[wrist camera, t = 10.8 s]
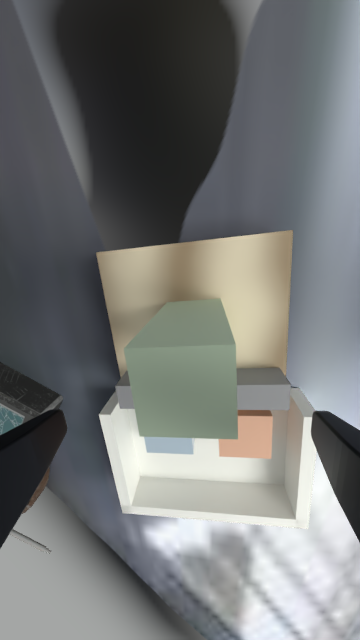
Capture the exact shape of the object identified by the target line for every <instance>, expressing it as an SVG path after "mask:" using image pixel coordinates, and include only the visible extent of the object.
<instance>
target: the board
mask: <svg viewBox="0 0 360 640" xmlns="http://www.w3.org/2000/svg"><path fill="white" fill-rule="evenodd" d="M292 240H293V230H289V231H281V232H272V233H263V234H254V235H246V236H237V237H228V238H219V239H210V240H202V241H193V242H184V243H175V244H167V245H158V246H149V247H140V248H132V249H123V250H114V251H105V252H97V253H96V255H97V260H98V265H99V270H100V275H101V280H102V285H103V290H104V295H105V301H106V306H107V311H108V316H109V321H110V326H111V331H112V336H113V341H114V346H115V351H116V356H117V361H118V366H119V371H120V377H122V376H123V375H124V373H125V372H126V371H128V370H127V365H126V359H125V354H124V348H125V347H126V346H127V345H128V343H129V342H130V341H131V340H132V339H133V338H134V337H135V336H136V335H137V334H138V333H139V332H140V331H141V330H142V329H143V327H144V326H145V325H146V324H147V323H148V322H149V321H150V320H151V319H152V318H153V317H154V316H155V315H156V314H157V313H158V311H159V310H160V309H161V308H162V307H163V306H164V305H165V304H166V303H167V302H176V301H191V300H205V299H219V298H221V301H222V304H223V307H224V310H225V313H226V316H227V319H228V322H229V325H230V328H231V331H232V334H233V337H234V340H235V343H236V368H280V369H281V370H282V372H283V373H284V375H285V376H286V362H287V342H288V322H289V301H290V281H291V261H292Z"/></svg>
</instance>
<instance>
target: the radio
mask: <svg viewBox="0 0 360 640" xmlns="http://www.w3.org/2000/svg"><path fill="white" fill-rule="evenodd" d="M62 400H63V397H62V396H61V395H59V394H58V393H56V392H54V391H52V390H50V389H48V388H47V387H45V386H43V385H41V384H39V383H37V382H36V381H34V380H32V379H30V378H28V377H26V376H25V375H23V374H21V373H19V372H17V371H15V370H14V369H12V368H10V367H8V366H6V365H4V364H3V363H1V362H0V435H2V434H4V433H6V432H7V431H9V430H11V429H13V428H15V427H17V426H19V425H21V424H23V423H25V422H27V421H29V420H31V419H33V418H35V417H36V416H38V415H40V414H42V413H44V412H46V411H48V410H51V409H59V407H60V405H61V402H62ZM49 471H50V470H49V468H48V470H47V472H46V474H45V476H44V477H43V479H42V481H41V482H40V484H39V486H38V488H37V489H36V491H35V492H34V494H33V496H32V497H31V499H30V501H29V502H28V504H27V506H26V507H25V509H24V510H23V512H22V514H23V513H25V512H26V511H27V510H28V509H29V508H30V507H32V505H33V504H34V502H35V501H36V500H37V498H38V497H39V496H40V494H41V493H42V491H43V490H44V488H45V486H46V484H47V482H48V478H49ZM9 534H10V535H12V536H14V537H15V538H17V539H19V540H21V541H23V542H25V543H27V544H29V545H31V546H33V547H35V548H36V549H39V550H40V551H42V552H46V553H47V552H48V553H49V554H50V553H51V551H50V550H49V549H48V548H46V546H44V545H42V544H40V543H38V542H36V541H34V540H32V539H31V538H29V537H27V536H25V535H23V534H21V533H19V532H17V531H15V530H13V529H12V530H11V532H10V533H9Z"/></svg>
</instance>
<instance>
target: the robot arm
mask: <svg viewBox="0 0 360 640" xmlns="http://www.w3.org/2000/svg"><path fill="white" fill-rule="evenodd" d="M66 432H67V424H66V420H65V417H64V414H63V411H62V410H60V409H51V410H48V411H46V412H44V413H42V414H40V415H38V416H36V417H35V418H33V419H31V420H29V421H27V422H25V423H23V424H21V425H19V426H17V427H15V428H13V429H11V430H9V431H7V432H6V433H4V434H2V435H0V548H1V547H2V545H3V543H4V542H5V540H6V538H7V537H8V535H9V533H10V532H11V530H12V529H13V527H14V525H15V524H16V522H17V520H18V519H19V517H20V515H21V514H22V512H23V510H24V509H25V507H26V506H27V504H28V502H29V501H30V499H31V497H32V496H33V494H34V492H35V491H36V489H37V488H38V486H39V484H40V482H41V481H42V479H43V477H44V476H45V474H46V472H47V470H48V468H49V466H50V464H51V462H52V460H53V458H54V456H55V454H56V452H57V450H58V448H59V446H60V445H61V443H62V441H63V439H64V437H65V435H66ZM311 437H312V440H313V442H314V445H315V447H316V450H317V452H318V455H319V457H320V459H321V462H322V464H323V467H324V469H325V472H326V474H327V476H328V479H329V481H330V484H331V486H332V488H333V491H334V493H335V495H336V497H337V499H338V501H339V503H340V505H341V507H342V509H343V511H344V513H345V515H346V517H347V519H348V521H349V523H350V525H351V526H352V528H353V530H354V532H355V534H356V536H357V538H358V540H359V542H360V430H358V429H357V428H355V427H353V426H352V425H350V424H348V423H347V422H345V421H344V420H342V419H340V418H339V417H337V416H335V415H334V414H332V413H330V412H328V411H314V412H313V414H312V424H311Z"/></svg>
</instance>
